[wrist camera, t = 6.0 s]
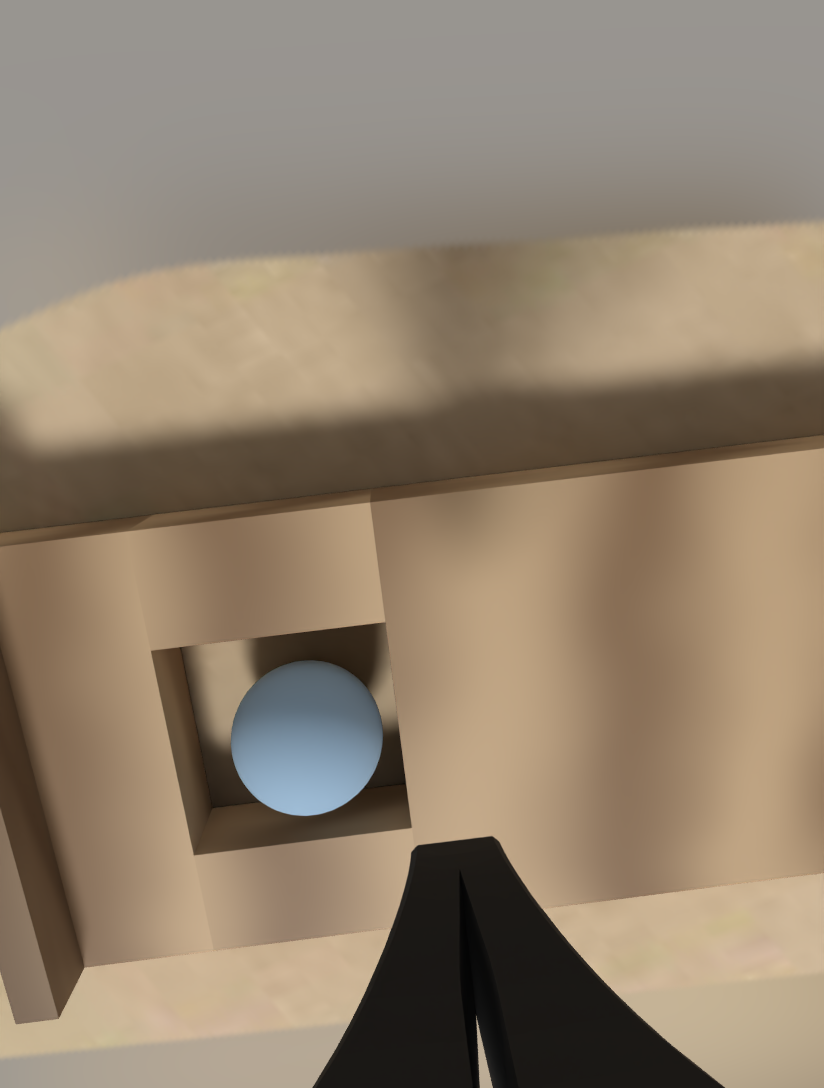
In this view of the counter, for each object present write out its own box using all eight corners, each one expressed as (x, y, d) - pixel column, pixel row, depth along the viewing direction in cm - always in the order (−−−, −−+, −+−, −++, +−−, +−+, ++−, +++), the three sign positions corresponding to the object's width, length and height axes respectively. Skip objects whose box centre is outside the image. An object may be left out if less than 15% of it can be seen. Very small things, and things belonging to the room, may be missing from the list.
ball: (185, 689, 16) (288, 632, 19) (213, 827, 17) (307, 753, 20) (308, 711, 15) (401, 645, 17) (333, 866, 15) (418, 778, 18)
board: (859, 430, 18) (971, 443, 15) (848, 817, 21) (941, 904, 17) (-22, 535, 18) (-117, 573, 14) (77, 915, 20) (15, 1024, 17)
